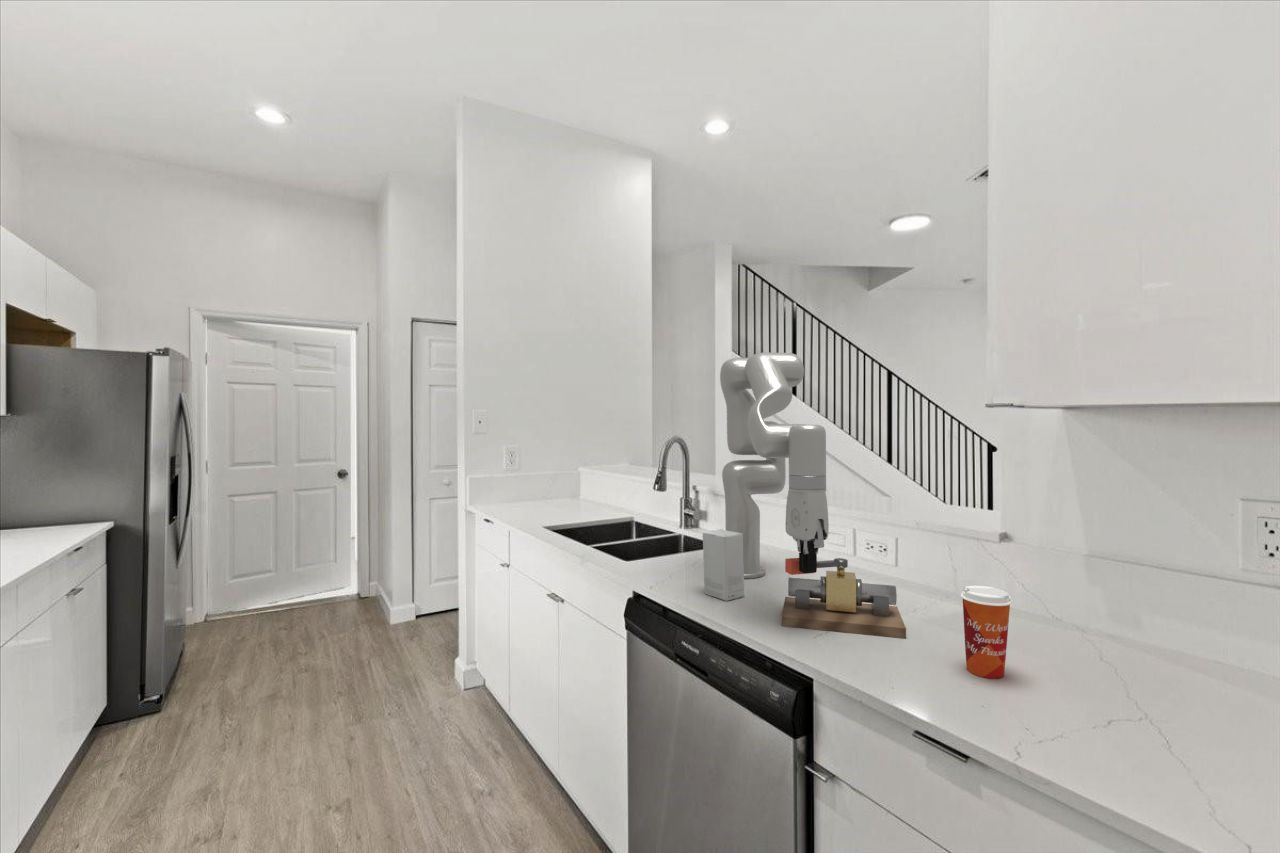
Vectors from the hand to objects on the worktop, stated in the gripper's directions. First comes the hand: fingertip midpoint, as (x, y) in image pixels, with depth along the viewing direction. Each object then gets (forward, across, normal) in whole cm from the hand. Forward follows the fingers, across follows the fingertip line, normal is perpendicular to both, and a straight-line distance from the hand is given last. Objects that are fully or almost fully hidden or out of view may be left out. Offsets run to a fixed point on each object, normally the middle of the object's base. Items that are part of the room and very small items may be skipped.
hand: (807, 571), depth 123 cm
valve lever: (+1, -3, +4) cm, 5 cm away
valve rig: (+12, -2, +9) cm, 15 cm away
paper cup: (+12, +26, +19) cm, 35 cm away
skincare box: (+11, -25, -9) cm, 29 cm away
